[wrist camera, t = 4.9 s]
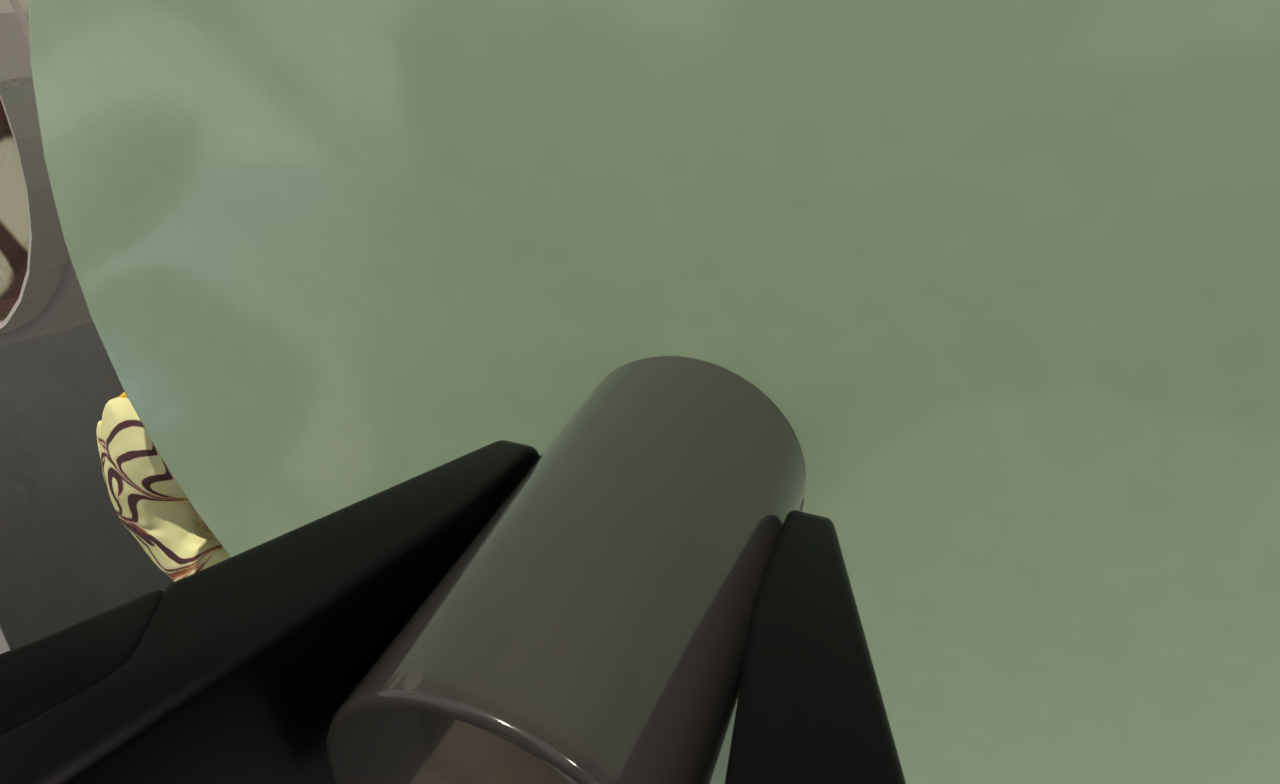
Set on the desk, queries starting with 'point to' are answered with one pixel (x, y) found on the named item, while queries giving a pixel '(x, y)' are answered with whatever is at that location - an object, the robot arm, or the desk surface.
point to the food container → (29, 204)
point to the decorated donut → (152, 496)
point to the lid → (721, 351)
